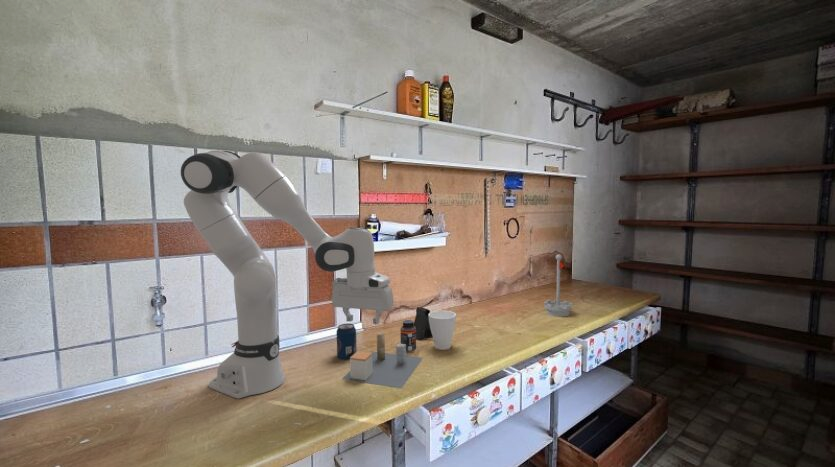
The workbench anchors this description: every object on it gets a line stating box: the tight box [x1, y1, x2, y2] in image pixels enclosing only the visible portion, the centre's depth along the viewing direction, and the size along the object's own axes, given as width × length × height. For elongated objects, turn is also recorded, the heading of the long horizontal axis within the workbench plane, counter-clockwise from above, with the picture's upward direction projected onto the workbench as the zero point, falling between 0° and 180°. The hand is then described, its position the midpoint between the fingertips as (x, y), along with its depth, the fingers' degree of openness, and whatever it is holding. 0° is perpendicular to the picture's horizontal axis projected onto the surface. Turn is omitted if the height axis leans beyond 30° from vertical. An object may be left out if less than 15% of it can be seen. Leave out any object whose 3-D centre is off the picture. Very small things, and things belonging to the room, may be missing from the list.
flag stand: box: [543, 253, 573, 318], centre depth 178 cm, size 13×13×30 cm
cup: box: [428, 309, 457, 351], centre depth 135 cm, size 10×10×14 cm
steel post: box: [395, 343, 407, 365], centre depth 121 cm, size 3×3×6 cm
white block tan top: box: [349, 350, 373, 380], centre depth 113 cm, size 5×5×7 cm
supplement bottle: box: [400, 319, 417, 352], centre depth 134 cm, size 6×6×11 cm
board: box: [341, 351, 424, 389], centre depth 118 cm, size 20×22×1 cm
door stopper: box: [413, 306, 433, 341], centre depth 149 cm, size 9×6×12 cm, turn 126°
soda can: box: [336, 323, 358, 361], centre depth 128 cm, size 7×7×12 cm
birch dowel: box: [376, 332, 386, 361], centre depth 125 cm, size 3×3×9 cm
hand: (362, 322), depth 112 cm, fingers open, 8 cm apart
